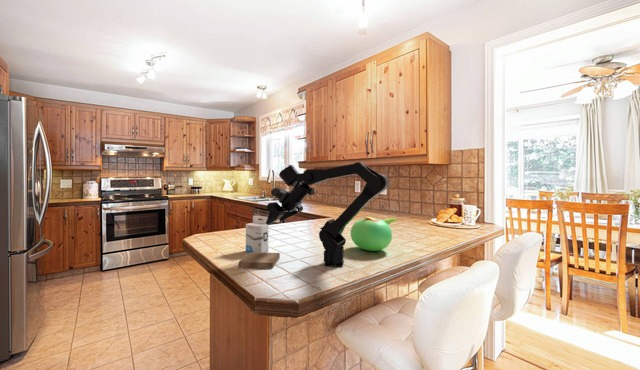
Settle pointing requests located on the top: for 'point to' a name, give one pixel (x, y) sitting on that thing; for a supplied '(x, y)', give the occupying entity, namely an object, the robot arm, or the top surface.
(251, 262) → the walnut block
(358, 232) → the round green pot
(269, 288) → the top surface
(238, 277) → the top surface
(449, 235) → the top surface
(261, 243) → the ink box
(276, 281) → the top surface
